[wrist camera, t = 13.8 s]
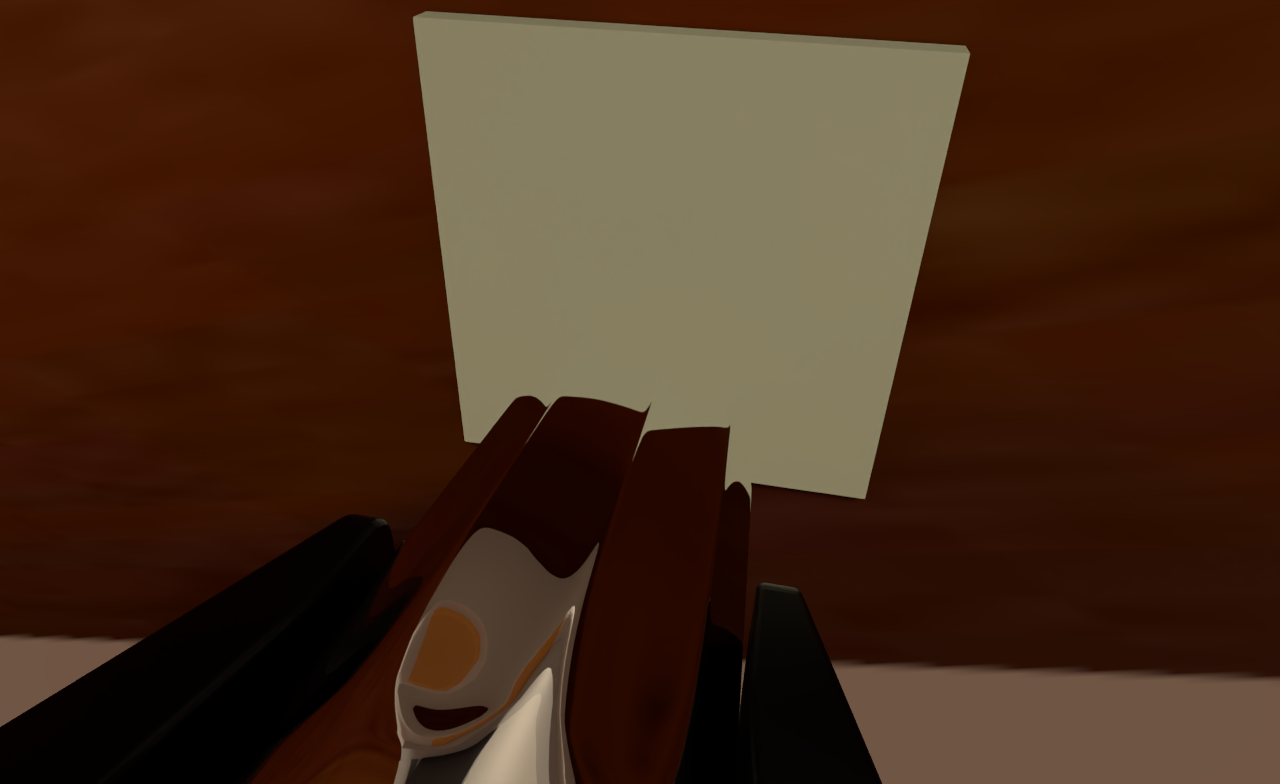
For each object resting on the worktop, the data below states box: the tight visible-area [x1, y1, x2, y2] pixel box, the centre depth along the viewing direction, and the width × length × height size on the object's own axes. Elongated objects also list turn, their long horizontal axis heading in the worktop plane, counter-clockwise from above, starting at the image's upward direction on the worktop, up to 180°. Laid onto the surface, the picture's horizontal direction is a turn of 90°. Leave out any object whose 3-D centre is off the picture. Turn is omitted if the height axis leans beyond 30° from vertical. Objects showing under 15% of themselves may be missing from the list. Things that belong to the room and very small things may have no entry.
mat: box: [413, 11, 970, 499], centre depth 14 cm, size 8×8×1 cm
